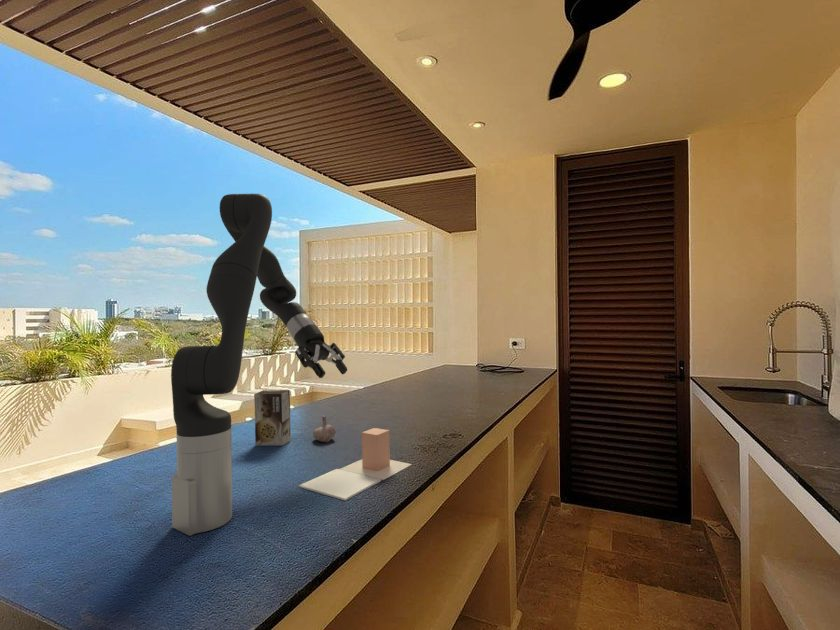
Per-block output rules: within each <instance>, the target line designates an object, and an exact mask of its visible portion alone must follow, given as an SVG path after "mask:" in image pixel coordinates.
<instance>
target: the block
mask: <svg viewBox="0 0 840 630" xmlns="http://www.w3.org/2000/svg"><path fill="white" fill-rule="evenodd" d="M390 440H391V439H390V429H382V428H378V427H377V428H376V427H373V428H370V429H367V430H364V431H362V432H361V456H362V458H361V459H362V468H365V469H369V470H374V471H380V470H382V469H384V468H386V467H388V466H390V460H391V457H390V456H391V453H390V452H391V450H390V447H391V446H390V445H391V444H390Z"/></svg>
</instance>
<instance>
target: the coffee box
mask: <svg viewBox="0 0 840 630" xmlns="http://www.w3.org/2000/svg"><path fill="white" fill-rule="evenodd" d="M290 393H291V392H290V389H272V390H271V389H269V390H266V389H265V390H260V391H258V392H256V393H254V394H253V395H254V396H253V397H254V399H253V400H254V433H255V434H254V435H255V436H254V437H255V444H254V445H255V446H260V447H261V446H263V447H264V446H265V447H267V446H277V447H278V446H285V445H286V444H287V443H289V442H290V441H291V437H292V436H291V397H290V396H291V395H290Z"/></svg>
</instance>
